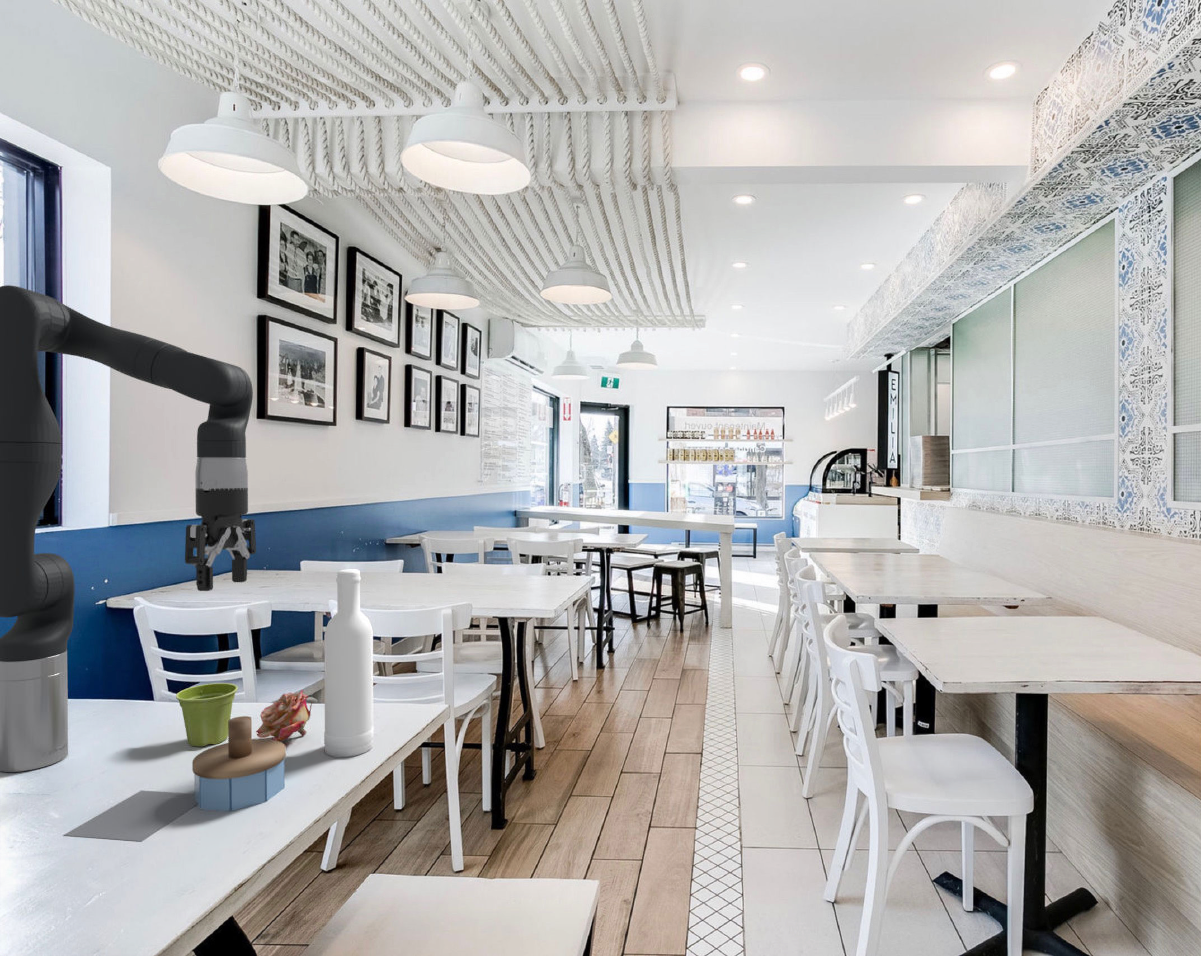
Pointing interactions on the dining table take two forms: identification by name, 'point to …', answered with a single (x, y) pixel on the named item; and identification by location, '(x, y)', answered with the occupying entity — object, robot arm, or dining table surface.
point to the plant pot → (207, 712)
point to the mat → (137, 816)
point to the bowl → (239, 789)
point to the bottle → (348, 673)
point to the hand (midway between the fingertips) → (222, 586)
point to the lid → (239, 754)
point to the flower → (285, 717)
